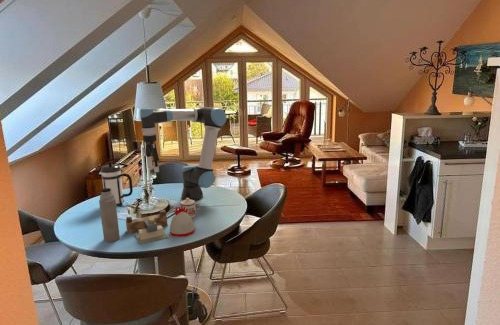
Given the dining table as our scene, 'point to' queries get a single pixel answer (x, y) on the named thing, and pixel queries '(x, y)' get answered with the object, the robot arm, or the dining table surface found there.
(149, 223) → the lever cap
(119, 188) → the coffee press
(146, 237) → the butter dish
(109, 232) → the thermos bottle
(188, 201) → the teacup with lid
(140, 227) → the hand plane
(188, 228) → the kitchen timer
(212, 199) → the dining table surface
